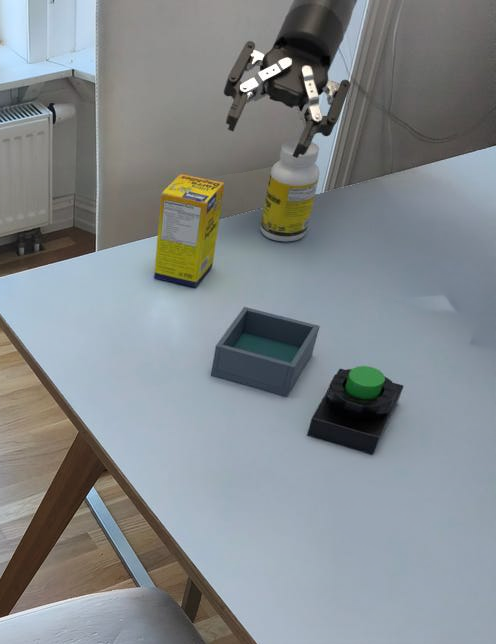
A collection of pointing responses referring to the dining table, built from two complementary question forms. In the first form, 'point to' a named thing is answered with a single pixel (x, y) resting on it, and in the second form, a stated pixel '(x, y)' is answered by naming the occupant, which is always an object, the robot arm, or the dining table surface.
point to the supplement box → (188, 229)
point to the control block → (354, 415)
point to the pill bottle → (290, 193)
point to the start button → (364, 382)
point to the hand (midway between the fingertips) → (264, 139)
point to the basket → (264, 351)
